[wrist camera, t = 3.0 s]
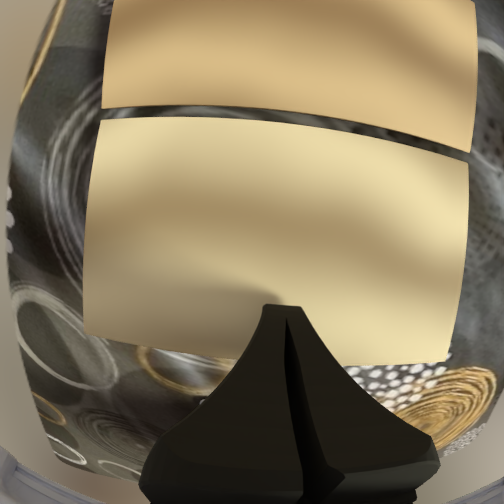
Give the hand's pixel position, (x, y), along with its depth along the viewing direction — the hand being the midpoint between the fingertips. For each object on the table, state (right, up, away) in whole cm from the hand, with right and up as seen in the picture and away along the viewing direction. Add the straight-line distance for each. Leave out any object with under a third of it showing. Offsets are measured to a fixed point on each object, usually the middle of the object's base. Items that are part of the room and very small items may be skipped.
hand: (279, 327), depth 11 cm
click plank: (0, +3, +2) cm, 3 cm away
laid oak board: (+1, +12, -1) cm, 12 cm away
